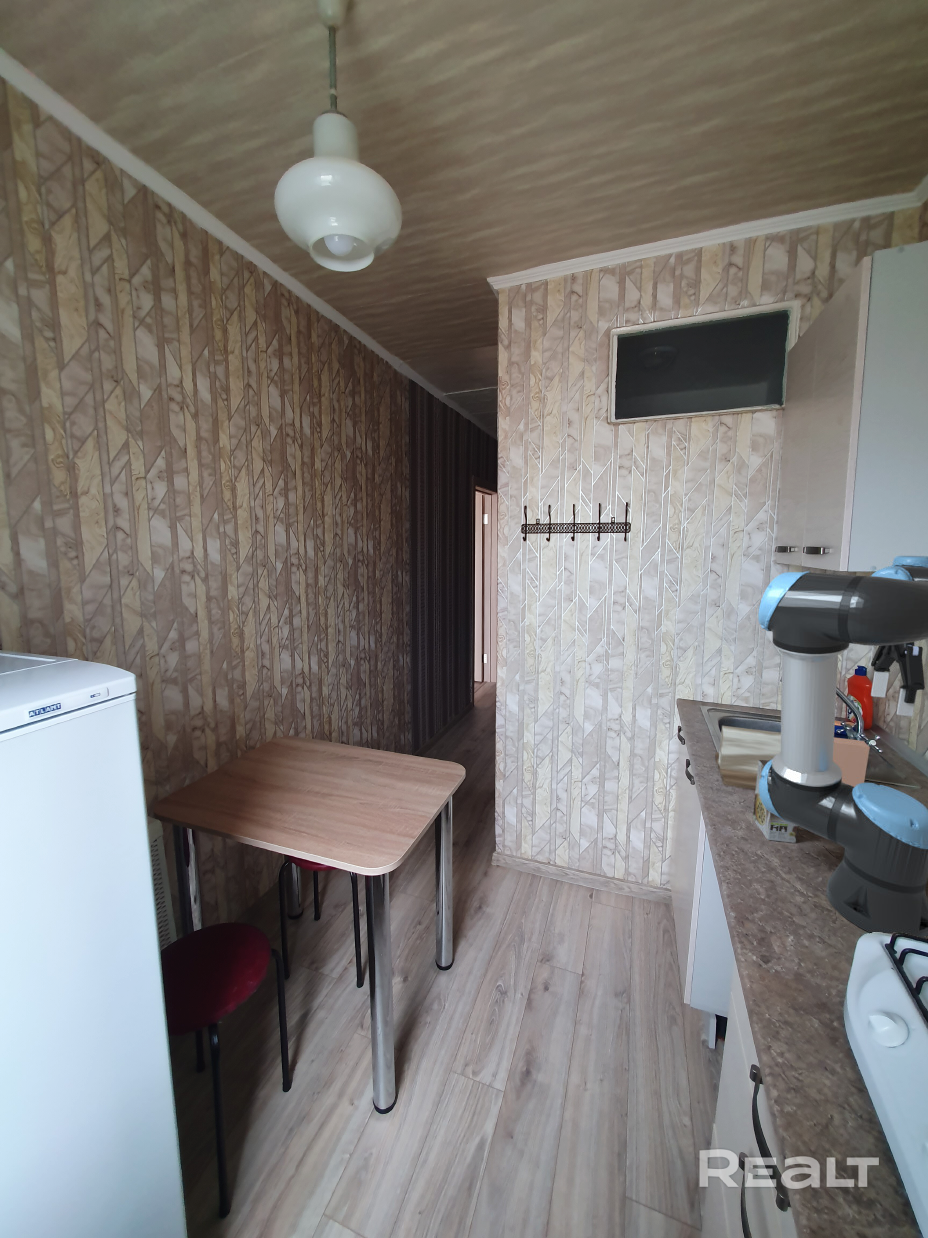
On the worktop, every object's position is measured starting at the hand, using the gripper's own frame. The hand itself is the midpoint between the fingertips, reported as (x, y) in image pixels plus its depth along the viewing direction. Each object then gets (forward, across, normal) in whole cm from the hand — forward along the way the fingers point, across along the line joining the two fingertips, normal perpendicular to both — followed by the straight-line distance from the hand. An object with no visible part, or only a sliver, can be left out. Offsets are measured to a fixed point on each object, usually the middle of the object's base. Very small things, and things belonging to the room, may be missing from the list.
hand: (890, 705), depth 117 cm
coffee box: (+29, -18, +26) cm, 43 cm away
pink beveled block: (+27, +10, +4) cm, 29 cm away
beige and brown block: (+29, +10, +21) cm, 37 cm away
